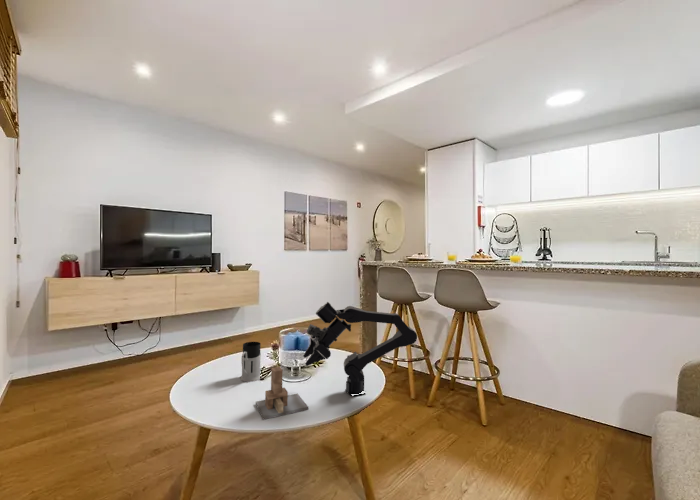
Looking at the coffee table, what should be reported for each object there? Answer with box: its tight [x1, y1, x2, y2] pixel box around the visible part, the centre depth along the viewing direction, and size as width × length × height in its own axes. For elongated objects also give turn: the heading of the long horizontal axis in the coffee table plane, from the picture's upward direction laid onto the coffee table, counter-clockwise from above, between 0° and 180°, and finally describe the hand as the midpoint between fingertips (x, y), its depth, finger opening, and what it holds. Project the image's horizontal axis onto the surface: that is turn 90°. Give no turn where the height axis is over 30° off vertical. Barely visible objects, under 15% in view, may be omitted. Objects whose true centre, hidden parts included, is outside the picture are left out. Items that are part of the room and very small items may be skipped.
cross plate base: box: [255, 393, 309, 420], centre depth 119 cm, size 16×12×4 cm
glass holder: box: [240, 341, 262, 383], centre depth 143 cm, size 9×14×15 cm, turn 174°
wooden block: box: [264, 366, 289, 410], centre depth 118 cm, size 7×4×13 cm, turn 118°
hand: (304, 360), depth 129 cm, fingers open, 9 cm apart
